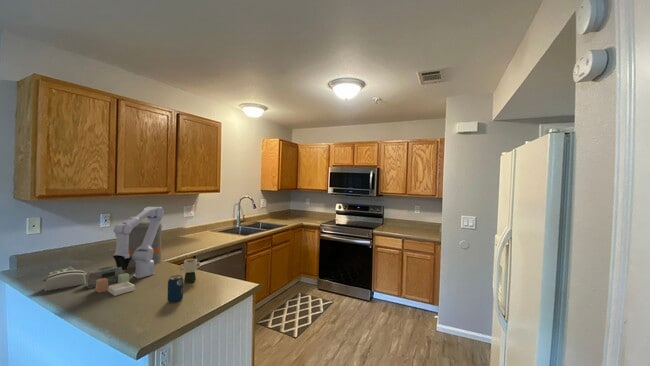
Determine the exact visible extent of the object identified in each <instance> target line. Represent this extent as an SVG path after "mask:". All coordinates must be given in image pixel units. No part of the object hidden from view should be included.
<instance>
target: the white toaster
mask: <svg viewBox="0 0 650 366" xmlns="http://www.w3.org/2000/svg"><path fill="white" fill-rule="evenodd" d="M72 270H76V269H75V268H73V267H72V266H68V267H67V268H64V269H62V268H59V270H56V269H54V270H53V271H51V272H49V275H52V274H55V273H59V272H64V271H72ZM84 274H85V276H87V275H88V273H87V272H85V271H84Z"/></svg>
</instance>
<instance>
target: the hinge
mask: <svg viewBox="0 0 650 366" xmlns="http://www.w3.org/2000/svg"><path fill="white" fill-rule="evenodd" d="M84 272H85V271H84V270H77V269H75V270H72V271H64V272H59V273H55V274H52V275H51V274H49V275H48V276H47V277H46V280H45V284H44V290H45V291H44V292H46V290H48V291H52V289H53V290H59V289H65V288H70V287H75V286H80V285H85V284H87V280H86V275H85V274H84ZM58 288H59V289H58Z"/></svg>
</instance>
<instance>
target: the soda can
mask: <svg viewBox="0 0 650 366" xmlns="http://www.w3.org/2000/svg"><path fill="white" fill-rule="evenodd" d="M183 298H184V278H183V276H182V275H180V274H177V275H172V276H169V279H168V281H167V302H168V303H169V304H176V303H180V302H181V301H182V300H183Z"/></svg>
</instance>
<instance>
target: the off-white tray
mask: <svg viewBox="0 0 650 366" xmlns="http://www.w3.org/2000/svg"><path fill="white" fill-rule="evenodd" d="M135 288H136V287H135V284H133V283H131V282H130V281H129V282H128V281H127V282H123V283H120V284H118V283H115V284H112V285H108V291H107V292H108V293H110V294H111V295H113V297H115V296H119V295H123V294H126V293H130V292H134V291H135Z"/></svg>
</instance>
